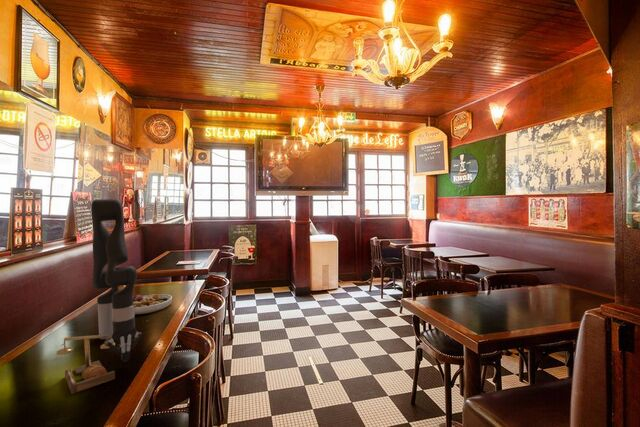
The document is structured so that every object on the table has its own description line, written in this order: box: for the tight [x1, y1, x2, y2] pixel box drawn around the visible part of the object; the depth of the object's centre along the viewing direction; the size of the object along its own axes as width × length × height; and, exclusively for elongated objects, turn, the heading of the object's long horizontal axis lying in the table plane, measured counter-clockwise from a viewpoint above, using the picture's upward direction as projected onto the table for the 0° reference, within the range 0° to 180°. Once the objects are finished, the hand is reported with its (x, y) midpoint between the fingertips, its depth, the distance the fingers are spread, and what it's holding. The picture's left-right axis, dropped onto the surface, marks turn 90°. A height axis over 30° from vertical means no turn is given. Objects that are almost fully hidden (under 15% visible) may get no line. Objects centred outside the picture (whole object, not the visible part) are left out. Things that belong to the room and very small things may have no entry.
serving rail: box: [64, 368, 116, 395], centre depth 118 cm, size 16×13×3 cm
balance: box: [55, 334, 116, 376], centre depth 125 cm, size 19×6×14 cm, turn 135°
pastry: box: [81, 365, 108, 381], centre depth 119 cm, size 9×7×4 cm
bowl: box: [133, 293, 173, 315], centre depth 203 cm, size 30×30×8 cm
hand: (125, 360), depth 127 cm, fingers closed
